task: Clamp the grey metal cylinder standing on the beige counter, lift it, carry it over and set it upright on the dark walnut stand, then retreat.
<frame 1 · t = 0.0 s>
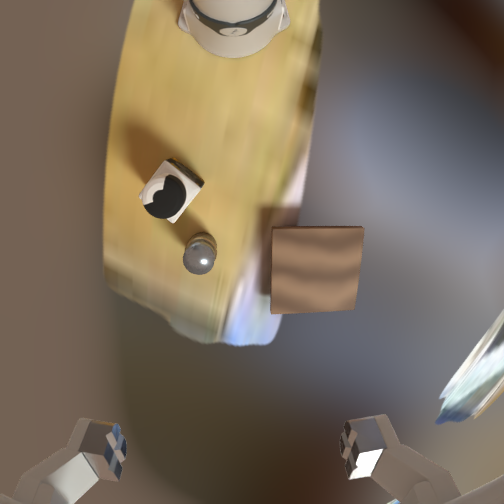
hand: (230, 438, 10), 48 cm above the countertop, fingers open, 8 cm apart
grey metal cylinder: (202, 245, 58), on the countertop
medicine bottle: (177, 185, 54), on the countertop
walnut stand: (312, 264, 60), on the countertop
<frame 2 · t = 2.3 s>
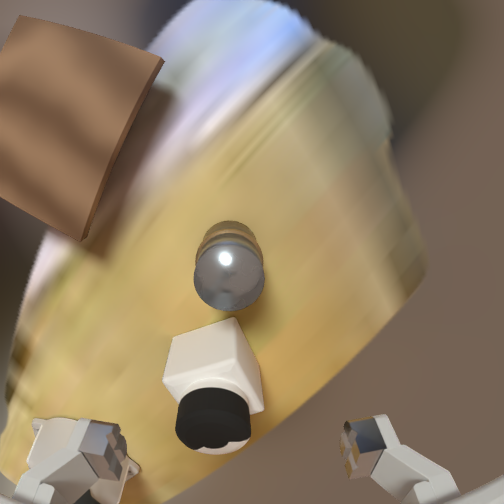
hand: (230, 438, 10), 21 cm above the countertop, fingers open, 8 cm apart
grey metal cylinder: (229, 247, 30), on the countertop
medicine bottle: (216, 350, 34), on the countertop
walnut stand: (60, 118, 24), on the countertop
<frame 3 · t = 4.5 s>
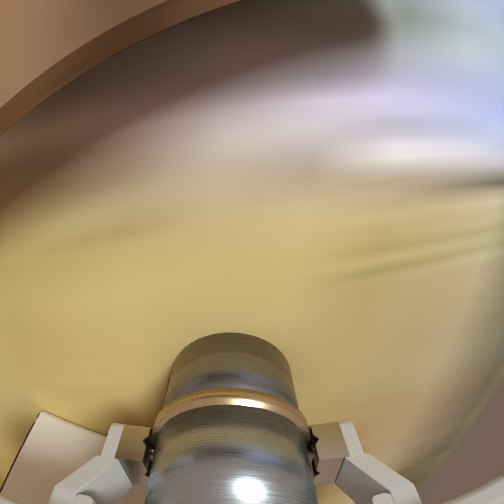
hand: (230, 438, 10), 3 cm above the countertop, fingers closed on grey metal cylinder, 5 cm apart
grey metal cylinder: (231, 380, 13), on the countertop, touching gripper
medicine bottle: (97, 457, 15), on the countertop
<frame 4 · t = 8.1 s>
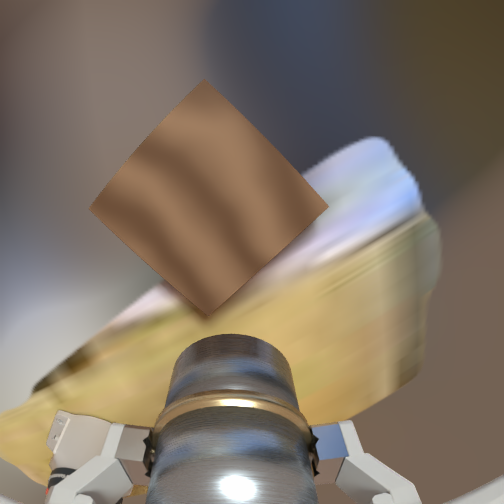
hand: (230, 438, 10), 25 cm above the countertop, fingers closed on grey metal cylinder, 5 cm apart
grey metal cylinder: (232, 381, 13), point 22 cm above the countertop, touching gripper
walnut stand: (207, 197, 32), on the countertop
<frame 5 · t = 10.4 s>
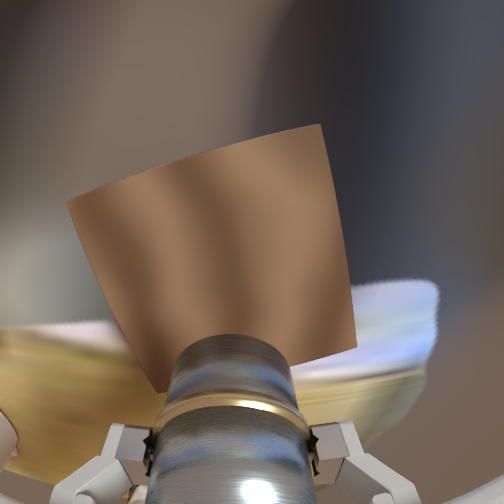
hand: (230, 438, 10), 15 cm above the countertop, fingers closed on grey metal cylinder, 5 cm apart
grey metal cylinder: (231, 381, 13), point 12 cm above the countertop, touching gripper
medicine bottle: (167, 459, 33), on the countertop
walnut stand: (223, 260, 24), on the countertop
when the fingers open (9 cm above the countertop, at t = 12.2 s): grey metal cylinder drops 1 cm, resting on walnut stand.
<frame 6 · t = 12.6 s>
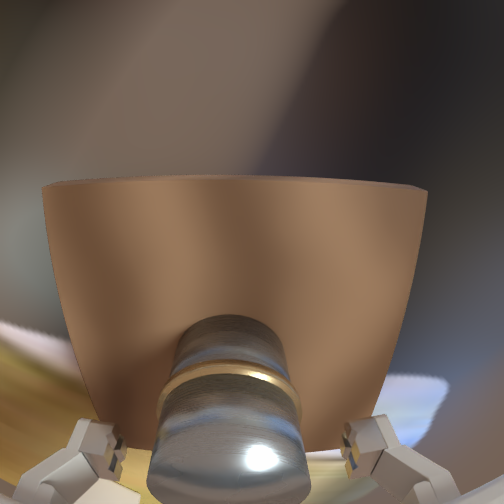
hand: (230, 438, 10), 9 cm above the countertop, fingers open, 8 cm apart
grey metal cylinder: (230, 360, 14), point 4 cm above the countertop, touching walnut stand
medicine bottle: (101, 485, 26), on the countertop
walnut stand: (232, 315, 18), on the countertop
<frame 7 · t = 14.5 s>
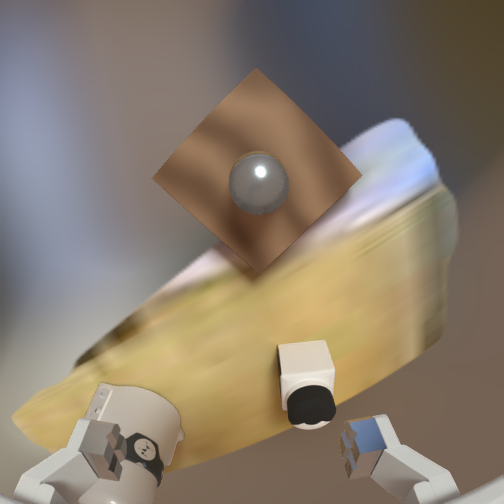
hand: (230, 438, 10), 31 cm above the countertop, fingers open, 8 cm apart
grey metal cylinder: (257, 174, 33), point 4 cm above the countertop, touching walnut stand
medicine bottle: (301, 358, 47), on the countertop
walnut stand: (257, 169, 37), on the countertop
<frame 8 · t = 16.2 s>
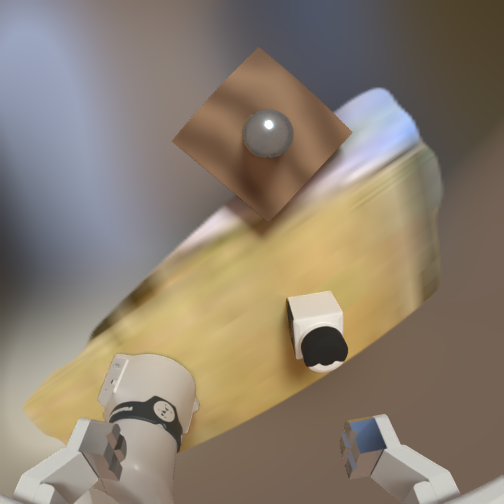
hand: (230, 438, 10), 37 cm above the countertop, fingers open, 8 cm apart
grey metal cylinder: (263, 134, 38), point 4 cm above the countertop, touching walnut stand
medicine bottle: (309, 311, 51), on the countertop
walnut stand: (261, 133, 42), on the countertop
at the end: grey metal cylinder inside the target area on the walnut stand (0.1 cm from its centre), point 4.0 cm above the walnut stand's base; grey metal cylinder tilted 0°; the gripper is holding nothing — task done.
